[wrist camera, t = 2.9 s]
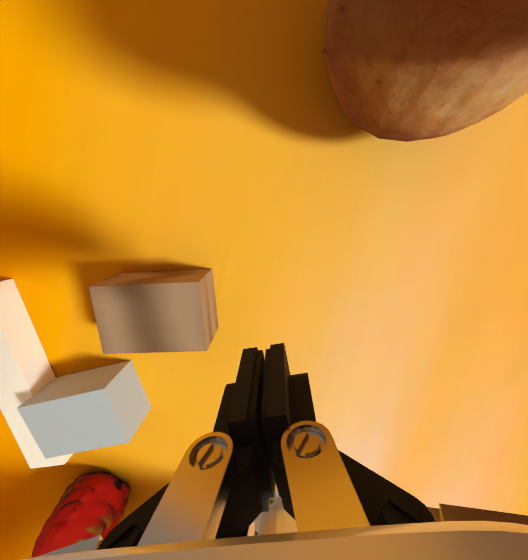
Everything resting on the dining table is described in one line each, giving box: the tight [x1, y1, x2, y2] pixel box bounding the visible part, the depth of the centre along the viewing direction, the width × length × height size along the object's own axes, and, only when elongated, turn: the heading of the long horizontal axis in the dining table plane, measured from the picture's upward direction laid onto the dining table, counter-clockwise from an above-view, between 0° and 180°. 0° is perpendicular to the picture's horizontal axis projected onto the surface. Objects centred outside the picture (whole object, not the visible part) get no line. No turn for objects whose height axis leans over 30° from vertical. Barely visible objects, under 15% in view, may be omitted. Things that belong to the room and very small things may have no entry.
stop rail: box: [0, 279, 73, 469], centre depth 29 cm, size 4×20×3 cm, turn 11°
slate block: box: [17, 360, 151, 459], centre depth 29 cm, size 9×6×5 cm, turn 105°
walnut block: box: [89, 269, 218, 354], centre depth 25 cm, size 9×6×5 cm, turn 93°
